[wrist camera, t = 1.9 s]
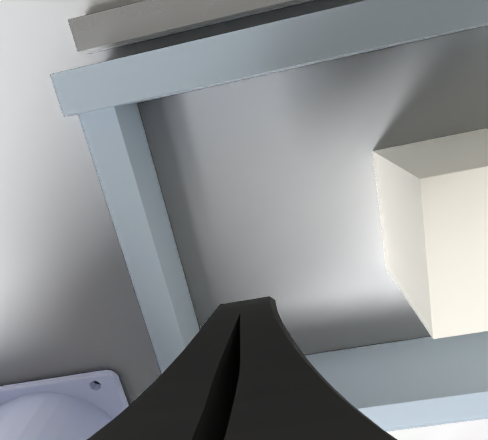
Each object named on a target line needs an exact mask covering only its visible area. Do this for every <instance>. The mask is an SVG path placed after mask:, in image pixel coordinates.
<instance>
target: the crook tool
mask: <svg viewBox="0 0 488 440" xmlns="http://www.w3.org/2000/svg"><path fill="white" fill-rule="evenodd" d="M309 1H313V0H145V1H141V2H137V3H133V4H129V5H125V6H121V7H117V8H113V9H109V10H105V11H101V12H97V13H93V14H89V15H85V16H81V17H77V18H73V19H69V20H68V21H69V25H70V28H71V31H72V34H73V38H74V41H75V44H76V47H77V51H78V52H83V53H89V54H90V53H94V52H99V51H103V50H107V49H111V48H115V47H120V46H124V45H128V44H132V43H136V42H141V41H145V40H149V39H153V38H157V37H162V36H166V35H170V34H174V33H179V32H183V31H187V30H191V29H195V28H200V27H204V26H208V25H212V24H216V23H221V22H225V21H229V20H233V19H237V18H242V17H246V16H250V15H254V14H258V13H263V12H267V11H271V10H275V9H279V8H284V7H288V6H292V5H296V4H300V3H305V2H309Z"/></svg>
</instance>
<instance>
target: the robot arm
mask: <svg viewBox="0 0 488 440" xmlns="http://www.w3.org/2000/svg"><path fill="white" fill-rule="evenodd" d="M94 381H97V382H99V383H100V384H101V385H100V384H96V383H95V382H94ZM0 440H397V439H395V438H394V437H392V436H391V435H390V434H388V433H387V432H385V431H384V430H383V429H382V428H380V427H379V426H378V425H377V424H375V423H374V422H373V421H372V420H370V419H369V418H368V417H367V416H365V415H364V414H363V413H362V412H360V411H359V410H358V409H357V408H355V407H354V406H353V405H352V404H351V403H349V402H348V401H347V400H346V399H345V398H344V397H343V396H342V395H341V394H340V393H339V392H338V391H336V390H335V389H334V388H333V387H332V386H331V385H330V384H329V383H328V382H327V381H326V380H325V378H324V377H323V376H322V375H321V374H320V373H319V372H318V371H317V370H316V369H315V367H314V366H313V365H312V364H311V363H310V362H309V360H308V359H307V358H306V357H305V355H304V354H303V353H302V351H301V350H300V349H299V347H298V346H297V345H296V343H295V342H294V340H293V339H292V337H291V336H290V334H289V333H288V331H287V329H286V328H285V326H284V324H283V323H282V321H281V318H280V316H279V314H278V312H277V307H276V302H275V300H274V299H273V298H271V297H270V296H269V297H263V298H257V299H251V300H245V301H239V302H233V303H227V304H221V305H220V306H219V307H218V308H217V309H216V310H215V312H214V313H213V314H212V315H211V317H210V318H209V319H208V320H207V322H206V323H205V324H204V326H203V327H202V328H201V329H200V331H199V332H198V333H197V334H196V336H195V337H194V338H193V339H192V340H191V342H190V343H189V344H188V345H187V347H186V348H185V349H184V350H183V351H182V352H181V354H180V355H179V356H178V357H177V358H176V359H175V360H174V361H173V362H172V363H171V364H170V366H169V367H168V368H167V369H166V370H165V371H164V372H163V373H162V374H161V375H160V376H159V378H158V379H157V380H156V381H155V382H154V383H153V384H152V385H151V386H150V387H149V388H148V389H146V390H145V391H144V392H143V393H142V394H141V395H140V396H139V397H138V398H137V399H136V400H135V401H133V402H132V403H131V404H130V405H129V404H128V402H127V399H126V396H125V393H124V391H123V388H122V385H121V382H120V379H119V377H118V375H117V374H116V373H115V372H113V371H111V370H102V371H95V372H89V373H82V374H76V375H69V376H63V377H56V378H50V379H43V380H37V381H31V382H24V383H18V384H11V385H5V386H0Z"/></svg>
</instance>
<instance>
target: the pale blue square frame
mask: <svg viewBox="0 0 488 440" xmlns="http://www.w3.org/2000/svg"><path fill="white" fill-rule="evenodd" d="M486 25H488V0H365V1H361V2H356V3H352V4H348V5H343V6H339V7H335V8H331V9H326V10H322V11H318V12H314V13H309V14H305V15H301V16H297V17H292V18H288V19H284V20H280V21H275V22H271V23H267V24H263V25H258V26H254V27H250V28H245V29H241V30H237V31H233V32H228V33H224V34H220V35H216V36H211V37H207V38H203V39H199V40H194V41H190V42H186V43H182V44H177V45H173V46H169V47H165V48H160V49H156V50H152V51H148V52H143V53H139V54H135V55H130V56H126V57H122V58H118V59H113V60H109V61H105V62H101V63H96V64H92V65H88V66H84V67H79V68H75V69H71V70H67V71H62V72H58V73H54V74H50V76H51V79H52V82H53V85H54V88H55V91H56V94H57V98H58V101H59V104H60V107H61V110H62V113H63V116H64V117H65V116H71V115H77V114H78V115H79V118H80V122H81V125H82V128H83V131H84V134H85V137H86V140H87V143H88V146H89V150H90V153H91V156H92V159H93V162H94V165H95V168H96V171H97V174H98V178H99V181H100V184H101V187H102V190H103V193H104V196H105V199H106V203H107V206H108V209H109V212H110V215H111V218H112V221H113V224H114V227H115V231H116V234H117V237H118V240H119V243H120V246H121V249H122V252H123V255H124V259H125V262H126V265H127V268H128V271H129V274H130V277H131V280H132V283H133V287H134V290H135V293H136V296H137V299H138V302H139V305H140V308H141V312H142V315H143V318H144V321H145V324H146V327H147V330H148V333H149V336H150V340H151V343H152V346H153V349H154V352H155V355H156V358H157V361H158V364H159V368H160V371H161V374H162V373H163V372H164V371H165V370H166V369H167V368H168V367H169V366H170V364H171V363H172V362H173V361H174V360H175V359H176V358H177V357H178V356H179V355H180V354H181V352H182V351H183V350H184V349H185V348H186V347H187V345H188V344H189V343H190V342H191V340H192V339H193V338H194V337H195V336H196V334H197V333H198V332H199V331H200V329H199V326H198V322H197V318H196V315H195V311H194V308H193V304H192V300H191V297H190V293H189V290H188V286H187V282H186V279H185V275H184V272H183V268H182V264H181V261H180V257H179V253H178V250H177V246H176V243H175V239H174V235H173V232H172V228H171V225H170V221H169V217H168V214H167V210H166V207H165V203H164V199H163V196H162V192H161V189H160V185H159V181H158V178H157V174H156V170H155V167H154V163H153V160H152V156H151V152H150V149H149V145H148V142H147V138H146V134H145V131H144V127H143V124H142V120H141V116H140V113H139V109H138V106H137V103H139V102H144V101H148V100H153V99H157V98H162V97H166V96H171V95H175V94H180V93H184V92H189V91H193V90H198V89H202V88H207V87H211V86H216V85H220V84H225V83H229V82H234V81H238V80H243V79H247V78H252V77H256V76H261V75H265V74H270V73H274V72H279V71H283V70H288V69H292V68H297V67H301V66H306V65H310V64H315V63H319V62H324V61H328V60H333V59H337V58H342V57H346V56H351V55H355V54H360V53H364V52H369V51H373V50H378V49H382V48H387V47H392V46H396V45H401V44H405V43H410V42H414V41H419V40H423V39H428V38H432V37H437V36H441V35H446V34H450V33H455V32H459V31H464V30H468V29H473V28H477V27H482V26H486ZM305 357H306V358H307V359H308V360H309V362H310V363H311V364H312V365H313V366H314V367H315V369H316V370H317V371H318V372H319V373H320V374H321V375H322V376H323V377H324V378H325V380H326V381H327V382H328V383H329V384H330V385H331V386H332V387H333V388H334V389H335V390H336V391H338V392H339V393H340V394H341V395H342V396H343V397H344V398H345V399H346V400H347V401H348V402H349V403H351V404H352V405H353V406H354V407H355V408H357V409H358V410H359V411H360V412H362V413H363V414H364V415H365V416H367V417H368V418H369V419H370V420H372V421H373V422H374V423H375V424H377V425H378V426H379V427H380V428H382V429H383V430H384V431H385V432H386V431H394V430H402V429H409V428H417V427H425V426H433V425H440V424H448V423H456V422H464V421H472V420H479V419H487V418H488V331H484V332H478V333H471V334H465V335H458V336H451V337H445V338H438V339H433V338H432V337H424V338H417V339H411V340H404V341H397V342H391V343H384V344H377V345H371V346H364V347H357V348H351V349H344V350H337V351H331V352H324V353H317V354H311V355H305Z"/></svg>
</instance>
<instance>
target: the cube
mask: <svg viewBox="0 0 488 440" xmlns="http://www.w3.org/2000/svg"><path fill="white" fill-rule="evenodd" d="M372 152H373V160H374V169H375V177H376V186H377V195H378V203H379V212H380V220H381V229H382V238H383V246H384V255H385V264H386V270H387V272H388V273H389V275H390V276H391V277H392V279H393V280H394V282H395V283H396V285H397V286H398V288H399V289H400V291H401V292H402V294H403V295H404V297H405V298H406V300H407V301H408V303H409V304H410V306H411V307H412V309H413V310H414V311H415V313H416V314H417V316H418V317H419V319H420V320H421V322H422V323H423V325H424V326H425V328H426V329H427V331H428V332H429V334H430V335H431V337H432V338H433V339H438V338H445V337H451V336H458V335H465V334H471V333H478V332H484V331H488V128H485V129H480V130H475V131H470V132H465V133H460V134H455V135H450V136H445V137H440V138H435V139H430V140H425V141H420V142H415V143H410V144H405V145H400V146H395V147H389V148H384V149H379V150H374V151H372Z"/></svg>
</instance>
